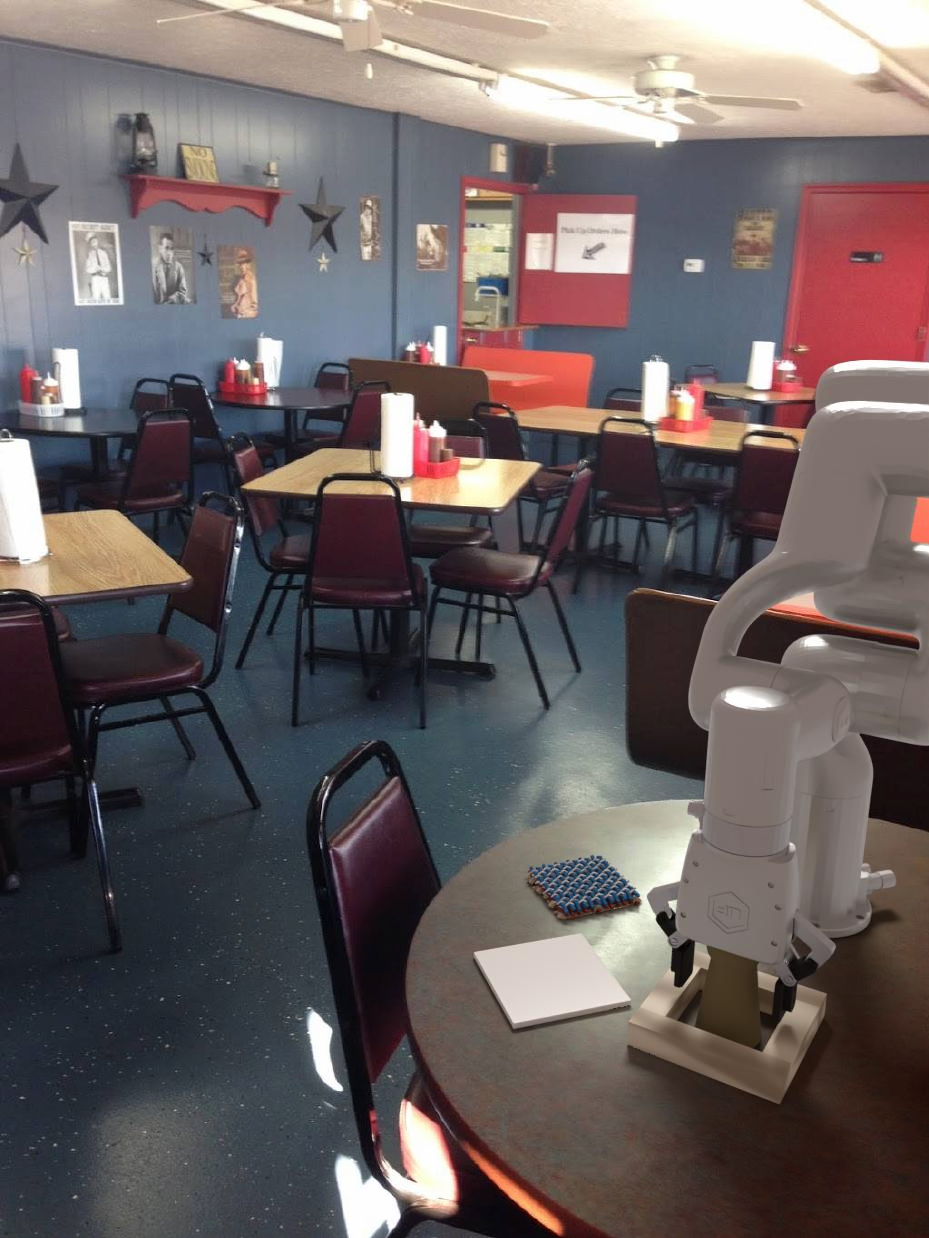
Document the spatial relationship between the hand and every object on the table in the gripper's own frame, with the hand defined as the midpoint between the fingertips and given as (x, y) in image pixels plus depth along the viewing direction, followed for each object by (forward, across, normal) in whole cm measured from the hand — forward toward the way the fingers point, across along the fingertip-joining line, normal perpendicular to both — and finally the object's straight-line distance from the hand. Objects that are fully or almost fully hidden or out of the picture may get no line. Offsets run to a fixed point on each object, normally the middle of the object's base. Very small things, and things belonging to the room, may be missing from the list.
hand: (730, 996), depth 100 cm
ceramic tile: (+4, -18, -2) cm, 18 cm away
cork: (+4, 0, 0) cm, 4 cm away
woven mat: (+4, -23, +15) cm, 28 cm away
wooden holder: (+4, 0, 0) cm, 4 cm away
